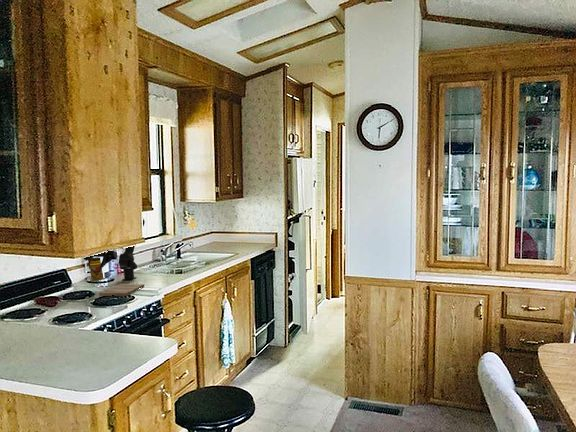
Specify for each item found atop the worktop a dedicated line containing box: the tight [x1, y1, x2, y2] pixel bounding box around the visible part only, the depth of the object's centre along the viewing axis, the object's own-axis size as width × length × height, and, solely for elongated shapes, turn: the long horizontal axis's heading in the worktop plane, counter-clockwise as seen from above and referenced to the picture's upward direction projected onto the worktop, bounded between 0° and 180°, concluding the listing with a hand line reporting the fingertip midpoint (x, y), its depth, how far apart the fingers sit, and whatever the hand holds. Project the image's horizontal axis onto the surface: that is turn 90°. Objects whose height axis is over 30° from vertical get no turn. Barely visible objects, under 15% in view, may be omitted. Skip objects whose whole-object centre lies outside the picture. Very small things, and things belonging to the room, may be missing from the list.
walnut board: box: [98, 283, 145, 297], centre depth 277 cm, size 20×16×2 cm
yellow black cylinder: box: [86, 257, 107, 282], centre depth 277 cm, size 7×8×12 cm
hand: (95, 268), depth 276 cm, fingers closed on yellow black cylinder, 6 cm apart
